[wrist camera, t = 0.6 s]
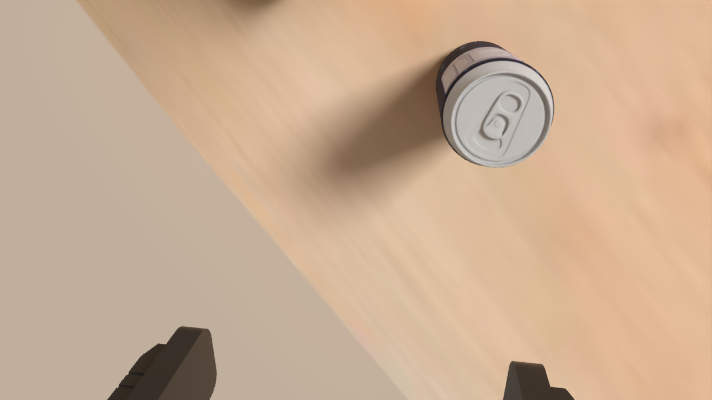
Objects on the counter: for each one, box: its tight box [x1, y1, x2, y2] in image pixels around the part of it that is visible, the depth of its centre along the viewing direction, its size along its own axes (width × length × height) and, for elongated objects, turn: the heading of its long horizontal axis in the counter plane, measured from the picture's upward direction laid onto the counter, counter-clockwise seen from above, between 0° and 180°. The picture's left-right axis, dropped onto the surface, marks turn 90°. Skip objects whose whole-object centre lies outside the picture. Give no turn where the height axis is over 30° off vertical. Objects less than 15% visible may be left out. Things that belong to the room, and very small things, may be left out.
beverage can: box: [436, 41, 554, 168], centre depth 29 cm, size 6×6×12 cm
